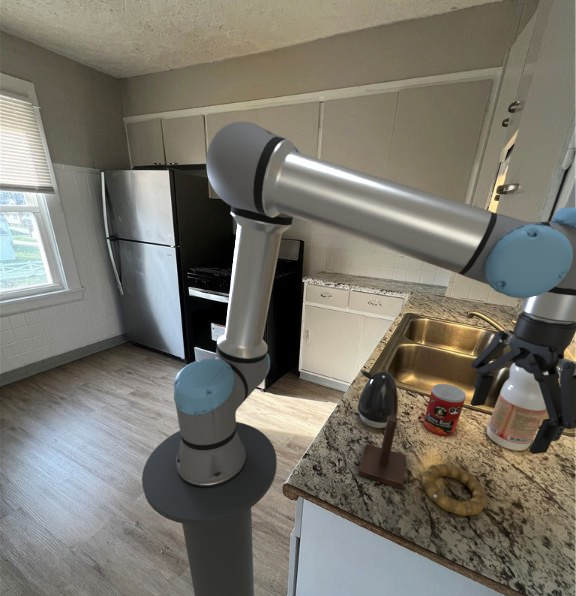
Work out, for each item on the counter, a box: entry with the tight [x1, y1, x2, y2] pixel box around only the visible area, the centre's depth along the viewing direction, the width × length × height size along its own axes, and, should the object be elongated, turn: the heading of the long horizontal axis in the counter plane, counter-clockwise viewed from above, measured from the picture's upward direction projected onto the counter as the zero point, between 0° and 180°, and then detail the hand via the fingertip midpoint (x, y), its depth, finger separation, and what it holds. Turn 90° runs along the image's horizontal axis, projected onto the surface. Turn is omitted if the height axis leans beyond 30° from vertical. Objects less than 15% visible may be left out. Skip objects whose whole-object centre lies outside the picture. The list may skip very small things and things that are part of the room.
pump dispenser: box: [357, 369, 399, 429], centre depth 81 cm, size 10×10×15 cm
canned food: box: [423, 383, 467, 436], centre depth 81 cm, size 8×8×11 cm
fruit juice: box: [486, 363, 561, 452], centre depth 74 cm, size 9×9×28 cm
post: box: [358, 415, 407, 490], centre depth 67 cm, size 9×9×14 cm
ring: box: [421, 463, 488, 517], centre depth 64 cm, size 12×12×2 cm
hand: (504, 425), depth 58 cm, fingers open, 13 cm apart
